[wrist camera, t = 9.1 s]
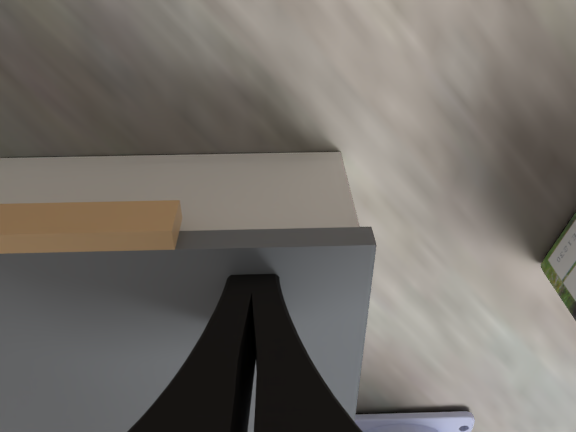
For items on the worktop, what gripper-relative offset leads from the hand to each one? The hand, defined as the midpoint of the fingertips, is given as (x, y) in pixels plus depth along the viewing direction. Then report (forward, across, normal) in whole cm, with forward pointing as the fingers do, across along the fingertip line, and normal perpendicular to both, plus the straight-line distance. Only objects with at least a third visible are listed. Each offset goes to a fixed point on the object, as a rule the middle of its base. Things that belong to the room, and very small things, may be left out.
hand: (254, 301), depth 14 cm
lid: (+1, +5, +4) cm, 7 cm away
